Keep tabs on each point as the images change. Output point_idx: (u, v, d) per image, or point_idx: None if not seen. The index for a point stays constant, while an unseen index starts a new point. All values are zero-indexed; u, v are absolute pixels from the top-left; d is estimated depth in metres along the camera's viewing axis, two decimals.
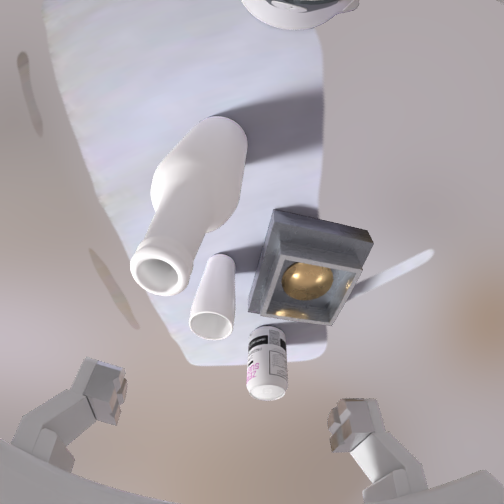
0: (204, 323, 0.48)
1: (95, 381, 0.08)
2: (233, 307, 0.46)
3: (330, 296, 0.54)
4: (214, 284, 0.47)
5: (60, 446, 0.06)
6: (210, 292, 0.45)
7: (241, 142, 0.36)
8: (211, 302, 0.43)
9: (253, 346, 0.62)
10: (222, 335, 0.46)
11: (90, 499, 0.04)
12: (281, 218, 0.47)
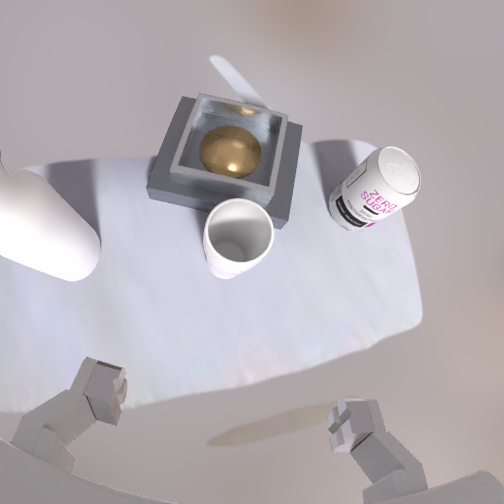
0: None
1: (95, 381, 0.08)
2: None
3: (255, 127, 0.44)
4: None
5: (60, 446, 0.06)
6: None
7: None
8: None
9: (351, 215, 0.43)
10: (266, 218, 0.30)
11: (90, 499, 0.04)
12: None
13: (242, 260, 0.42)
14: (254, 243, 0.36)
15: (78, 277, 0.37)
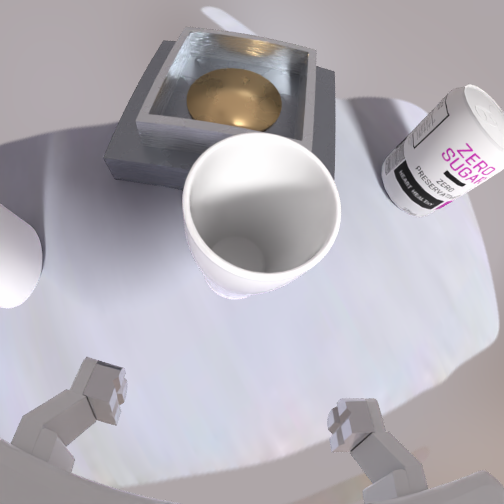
0: (309, 252, 0.15)
1: (95, 381, 0.08)
2: None
3: (268, 71, 0.28)
4: None
5: (60, 446, 0.06)
6: None
7: None
8: None
9: (421, 190, 0.26)
10: (318, 173, 0.13)
11: (90, 499, 0.04)
12: None
13: (262, 267, 0.25)
14: (286, 235, 0.20)
15: (11, 303, 0.20)
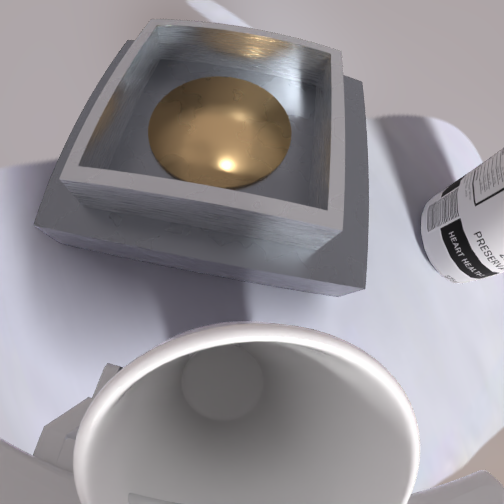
0: (338, 482, 0.06)
1: None
2: None
3: (271, 80, 0.20)
4: None
5: None
6: None
7: None
8: None
9: (476, 261, 0.17)
10: (387, 403, 0.05)
11: None
12: None
13: (260, 385, 0.17)
14: (297, 387, 0.11)
15: None
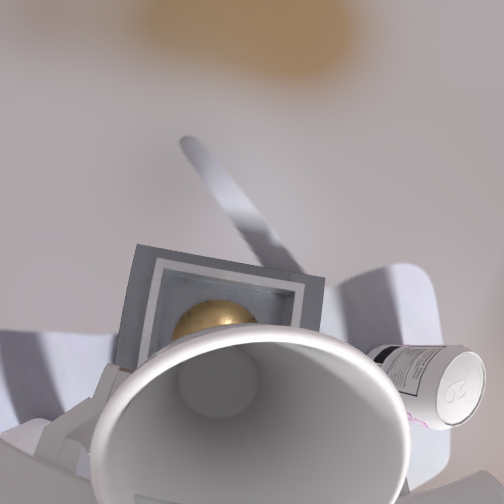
0: (331, 477, 0.07)
1: None
2: None
3: (252, 296, 0.30)
4: None
5: (85, 456, 0.06)
6: None
7: (7, 430, 0.20)
8: None
9: None
10: (382, 401, 0.05)
11: (90, 499, 0.04)
12: None
13: (254, 384, 0.17)
14: (293, 387, 0.12)
15: None
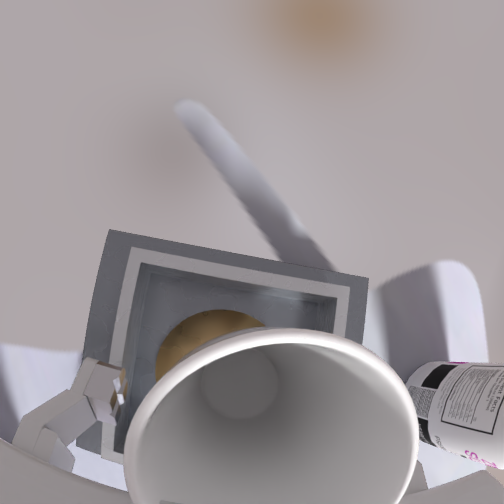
0: (346, 473, 0.07)
1: (95, 381, 0.08)
2: None
3: (271, 305, 0.21)
4: None
5: (60, 446, 0.06)
6: None
7: None
8: None
9: (434, 445, 0.19)
10: (392, 399, 0.06)
11: (90, 499, 0.04)
12: None
13: (275, 386, 0.18)
14: (312, 388, 0.12)
15: None
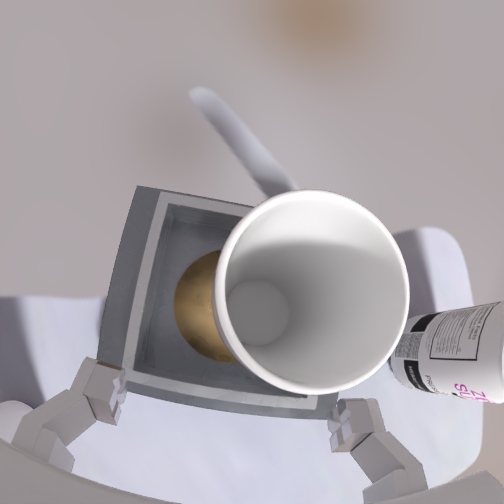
0: (358, 337, 0.12)
1: (95, 381, 0.08)
2: None
3: None
4: None
5: (60, 446, 0.06)
6: None
7: None
8: None
9: (426, 388, 0.23)
10: (387, 250, 0.10)
11: (90, 499, 0.04)
12: None
13: (286, 317, 0.22)
14: (323, 296, 0.16)
15: None
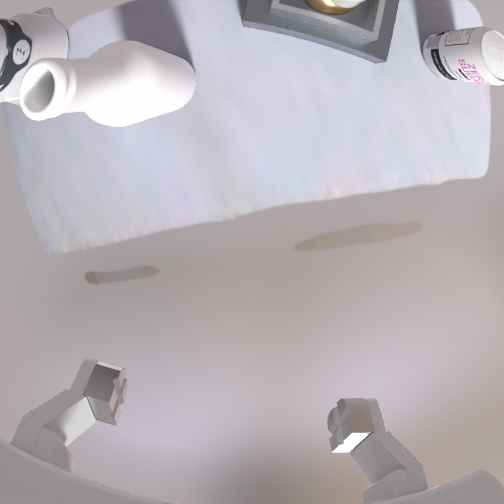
0: None
1: (95, 381, 0.08)
2: None
3: None
4: None
5: (60, 446, 0.06)
6: None
7: None
8: None
9: (444, 69, 0.31)
10: None
11: (90, 499, 0.04)
12: None
13: None
14: None
15: (177, 109, 0.38)
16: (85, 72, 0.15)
